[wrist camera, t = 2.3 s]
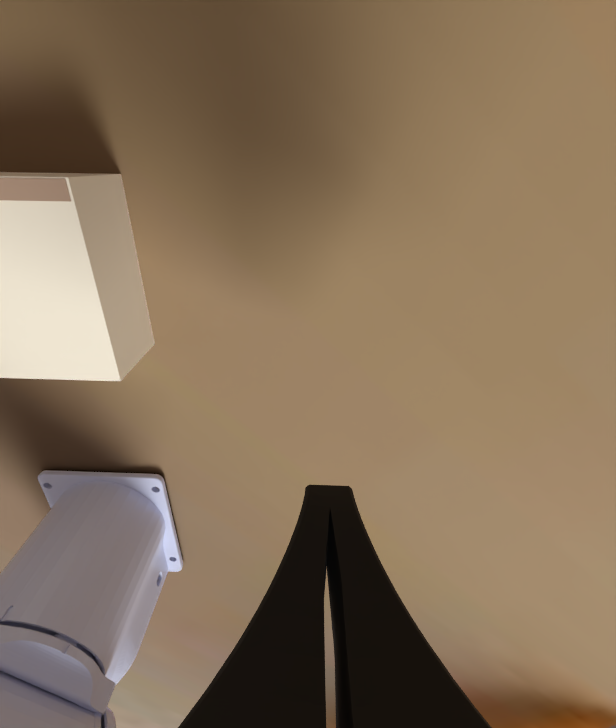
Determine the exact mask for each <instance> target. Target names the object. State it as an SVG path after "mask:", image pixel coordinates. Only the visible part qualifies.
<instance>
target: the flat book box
mask: <svg viewBox="0 0 616 728" xmlns="http://www.w3.org/2000/svg"><path fill="white" fill-rule="evenodd" d="M154 344H155V343H154V338H153V333H152V327H151V322H150V317H149V312H148V307H147V302H146V297H145V292H144V287H143V282H142V277H141V272H140V267H139V262H138V257H137V252H136V247H135V242H134V237H133V232H132V227H131V222H130V216H129V211H128V206H127V201H126V196H125V191H124V186H123V181H122V176H121V174H92V173H29V172H0V378H22V379H58V380H95V381H121V380H122V379H123V378H124V377H125V376H126V375H127V374H128V373H129V372H130V371H131V369H132V368H133V367H134V366H135V365H136V364H137V363H138V362H139V361H140V360H141V358H142V357H143V356H144V355H145V354H146V353H147V352H148V351H149V350H150V349H151V348H152V346H153V345H154Z"/></svg>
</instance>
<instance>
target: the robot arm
mask: <svg viewBox="0 0 616 728" xmlns="http://www.w3.org/2000/svg"><path fill="white" fill-rule="evenodd" d="M38 481H39V483H40V485H41V487H42V490H43V492H44V494H45V496H46V499H47V501H48V503H49V505H50V508H51V509H50V511H49V512H48V513H47V515H46V516H45V517H44V518H43V520H42V521H41V522H40V524H39V525H38V526H37V527H36V529H35V530H34V531H33V533H32V534H31V535H30V536H29V538H28V539H27V540H26V542H25V543H24V544H23V545H22V547H21V548H20V549H19V551H18V552H17V553H16V554H15V556H14V557H13V558H12V560H11V561H10V562H9V563H8V565H7V566H6V567H5V569H4V570H3V571H2V572H1V574H0V728H116V721H115V717H114V714H113V712H112V711H111V710H110V709H109V708H108V707H107V705H108V702H109V700H110V697H111V695H112V692H113V690H114V687H115V685H116V684H117V683H118V682H119V681H120V680H121V679H122V678H123V676H124V675H125V674H126V672H127V671H128V670H129V668H130V667H131V665H132V663H133V661H134V660H135V658H136V655H137V653H138V651H139V648H140V645H141V643H142V640H143V637H144V634H145V632H146V629H147V626H148V624H149V621H150V618H151V616H152V613H153V610H154V608H155V605H156V602H157V600H158V597H159V594H160V592H161V589H162V586H163V584H164V581H165V578H166V576H167V573H168V571H173V572H177V571H180V570H181V569H182V567H183V561H182V556H181V552H180V547H179V543H178V539H177V534H176V530H175V526H174V521H173V517H172V512H171V508H170V504H169V499H168V495H167V490H166V486H165V482H164V479H163V477H162V476H160V475H158V474H141V473H111V472H81V471H51V470H45V471H42V472H41V473H40V474H39V475H38ZM157 487H158V488H157ZM326 566H327V575H328V586H329V597H330V608H331V619H332V630H333V641H334V655H335V692H336V728H491V727H490V725H489V724H488V723H487V722H486V720H485V719H484V718H483V717H482V715H481V714H480V713H479V712H478V710H477V709H476V708H475V707H474V705H473V704H472V703H471V701H470V700H469V699H468V697H467V696H466V695H465V693H464V692H463V691H462V689H461V688H460V687H459V685H458V684H457V683H456V682H455V680H454V679H453V677H452V676H451V675H450V673H449V672H448V670H447V669H446V668H445V666H444V665H443V663H442V662H441V660H440V659H439V658H438V656H437V655H436V653H435V652H434V650H433V649H432V648H431V646H430V645H429V643H428V642H427V641H426V639H425V638H424V636H423V634H422V633H421V631H420V630H419V628H418V627H417V625H416V623H415V622H414V620H413V619H412V617H411V616H410V614H409V612H408V611H407V609H406V607H405V606H404V604H403V602H402V601H401V599H400V597H399V595H398V594H397V592H396V590H395V588H394V587H393V585H392V583H391V581H390V579H389V577H388V575H387V573H386V572H385V570H384V568H383V566H382V564H381V562H380V560H379V558H378V556H377V554H376V551H375V549H374V547H373V545H372V543H371V541H370V538H369V536H368V534H367V532H366V529H365V527H364V524H363V522H362V519H361V516H360V514H359V511H358V508H357V505H356V502H355V499H354V495H353V491H352V489H351V488H350V487H349V486H330V485H308V486H307V487H306V489H305V496H304V501H303V505H302V508H301V512H300V515H299V518H298V521H297V524H296V527H295V530H294V532H293V535H292V538H291V540H290V543H289V545H288V548H287V550H286V553H285V555H284V557H283V559H282V561H281V564H280V566H279V568H278V570H277V572H276V575H275V577H274V579H273V581H272V583H271V585H270V587H269V589H268V591H267V593H266V594H265V596H264V598H263V600H262V602H261V604H260V606H259V607H258V609H257V611H256V613H255V614H254V616H253V618H252V620H251V621H250V623H249V625H248V626H247V628H246V630H245V632H244V633H243V635H242V636H241V638H240V640H239V641H238V643H237V645H236V646H235V648H234V649H233V651H232V652H231V654H230V655H229V657H228V658H227V660H226V661H225V663H224V664H223V666H222V667H221V669H220V670H219V672H218V673H217V675H216V676H215V678H214V679H213V681H212V682H211V684H210V685H209V687H208V688H207V689H206V691H205V692H204V694H203V695H202V696H201V698H200V699H199V700H198V702H197V703H196V704H195V706H194V707H193V708H192V710H191V711H190V712H189V714H188V715H187V716H186V718H185V719H184V721H183V722H182V723H181V725H180V726H179V727H178V728H326V701H325V650H324V591H325V579H326Z"/></svg>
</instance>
